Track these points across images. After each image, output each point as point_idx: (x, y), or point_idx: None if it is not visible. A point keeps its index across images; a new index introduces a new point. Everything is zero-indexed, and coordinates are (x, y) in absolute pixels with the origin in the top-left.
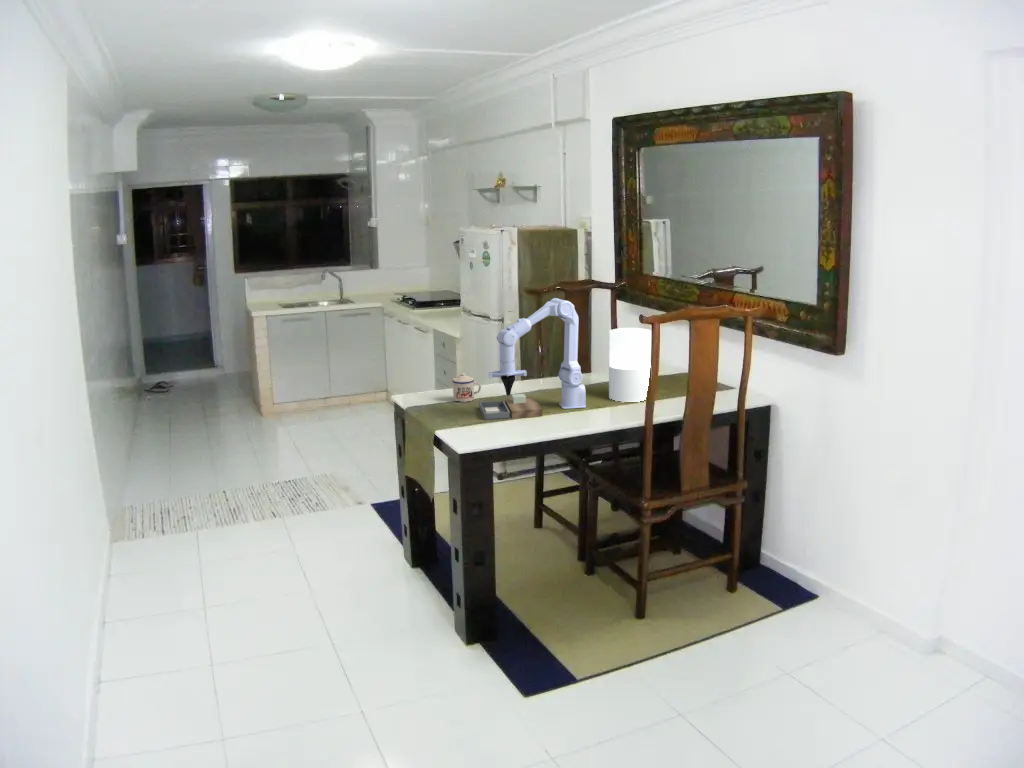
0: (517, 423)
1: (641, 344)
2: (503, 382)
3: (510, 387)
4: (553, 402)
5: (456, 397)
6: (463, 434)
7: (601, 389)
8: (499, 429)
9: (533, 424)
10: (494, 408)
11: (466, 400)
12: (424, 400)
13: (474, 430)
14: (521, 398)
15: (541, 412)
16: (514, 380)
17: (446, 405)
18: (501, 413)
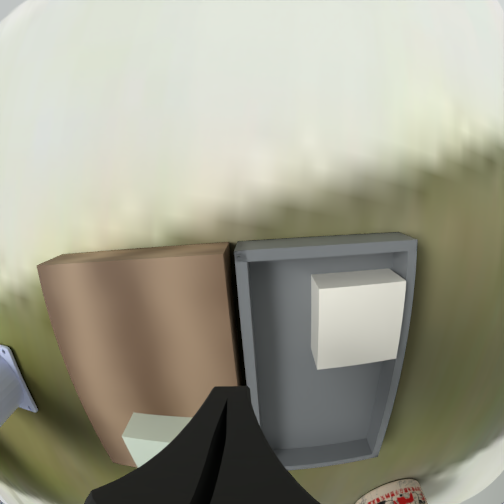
0: (201, 124)
1: None
2: (303, 491)
3: (193, 437)
4: (63, 436)
5: (420, 490)
6: (474, 28)
7: (4, 463)
8: (322, 29)
9: (113, 100)
10: (341, 338)
11: (390, 487)
12: (477, 470)
13: (445, 58)
14: (150, 434)
15: (51, 260)
16: (97, 489)
17: (457, 447)
18: (302, 246)
